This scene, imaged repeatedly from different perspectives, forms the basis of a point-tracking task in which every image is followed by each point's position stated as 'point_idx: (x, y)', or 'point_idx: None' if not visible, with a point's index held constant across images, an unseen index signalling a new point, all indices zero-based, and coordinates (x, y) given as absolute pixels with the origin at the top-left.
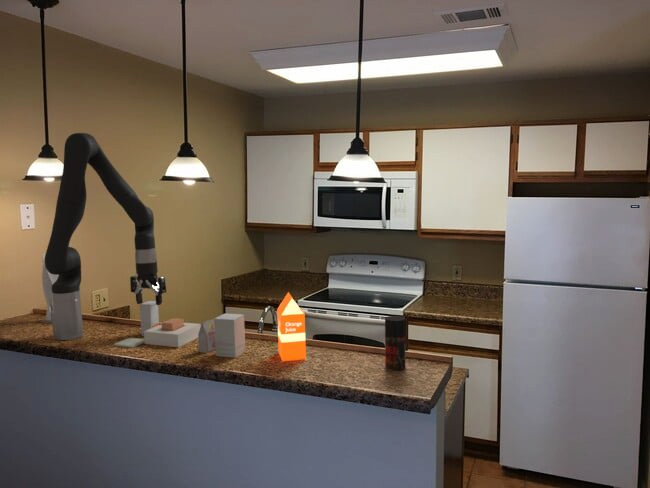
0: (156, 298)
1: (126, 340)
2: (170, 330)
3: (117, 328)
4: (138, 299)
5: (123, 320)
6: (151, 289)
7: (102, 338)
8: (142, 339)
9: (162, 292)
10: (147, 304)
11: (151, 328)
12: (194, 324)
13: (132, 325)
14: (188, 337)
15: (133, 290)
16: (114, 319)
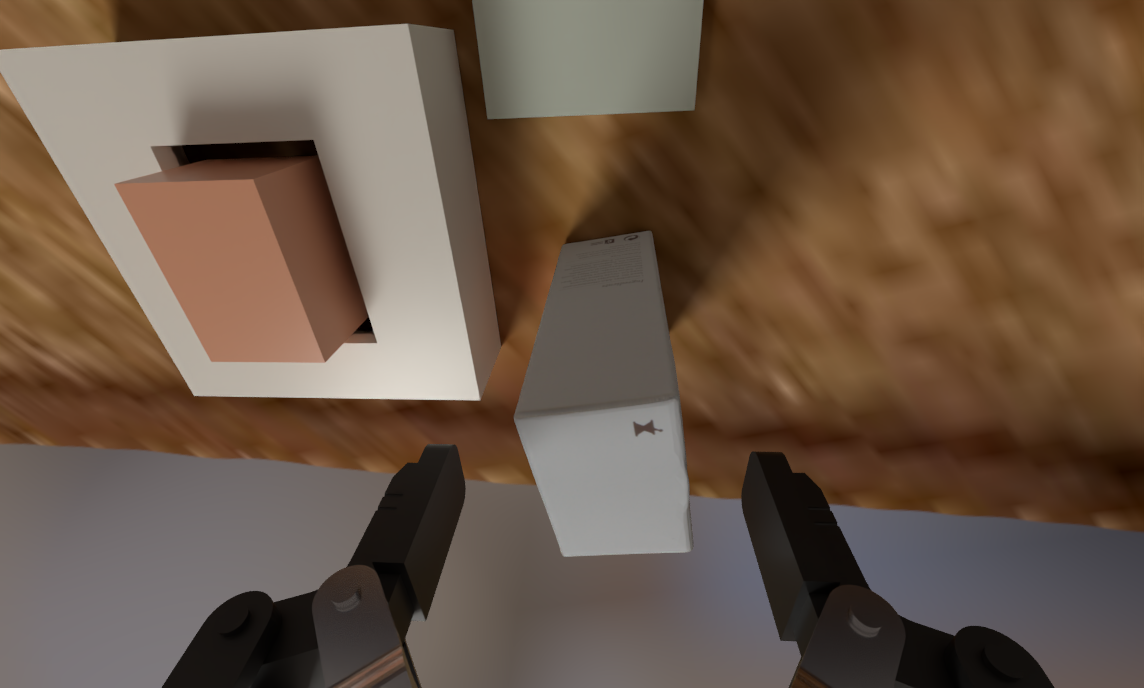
0: (405, 516)
1: (663, 8)
2: (205, 166)
3: (987, 344)
4: (773, 502)
5: (1025, 499)
6: (407, 681)
7: (1009, 33)
8: (532, 101)
9: (215, 618)
10: (553, 413)
11: (428, 162)
12: (220, 376)
13: (891, 427)
14: None
15: (960, 673)
16: (1114, 506)
